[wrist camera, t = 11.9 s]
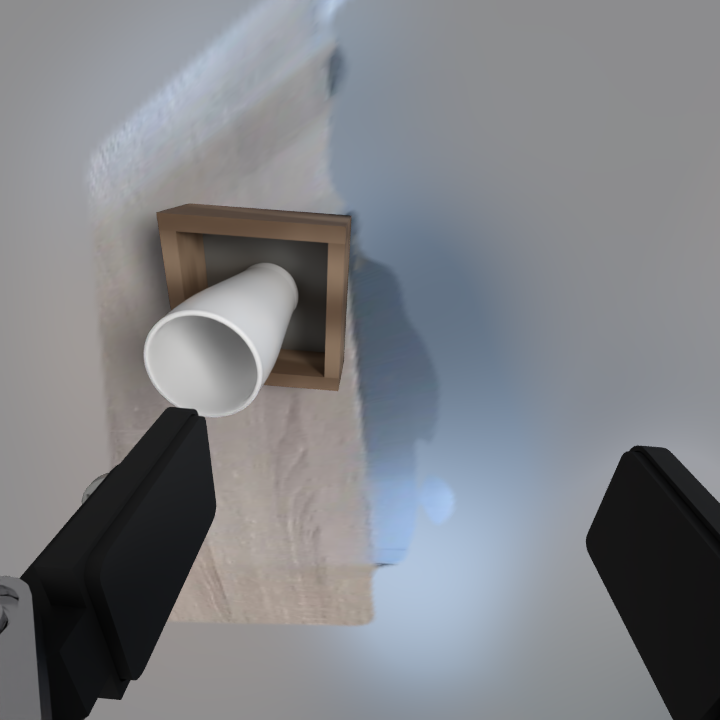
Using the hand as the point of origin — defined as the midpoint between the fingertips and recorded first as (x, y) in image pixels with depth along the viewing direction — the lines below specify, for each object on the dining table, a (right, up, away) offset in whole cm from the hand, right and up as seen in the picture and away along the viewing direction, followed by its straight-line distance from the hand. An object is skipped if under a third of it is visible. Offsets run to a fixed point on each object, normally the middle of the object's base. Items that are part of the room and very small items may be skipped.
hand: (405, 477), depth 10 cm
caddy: (-9, +9, +28) cm, 30 cm away
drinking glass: (-9, +9, +27) cm, 30 cm away
